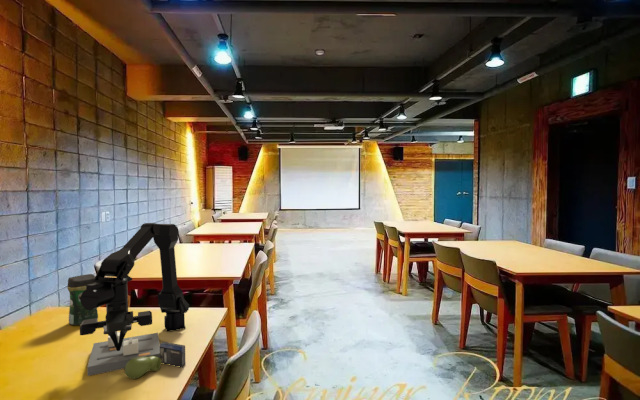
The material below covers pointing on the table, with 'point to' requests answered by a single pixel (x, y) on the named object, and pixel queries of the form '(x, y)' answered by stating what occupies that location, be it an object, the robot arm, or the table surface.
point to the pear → (141, 366)
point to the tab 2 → (130, 346)
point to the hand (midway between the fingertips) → (118, 350)
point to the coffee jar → (76, 289)
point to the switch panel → (120, 354)
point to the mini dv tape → (172, 354)
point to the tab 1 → (110, 342)
